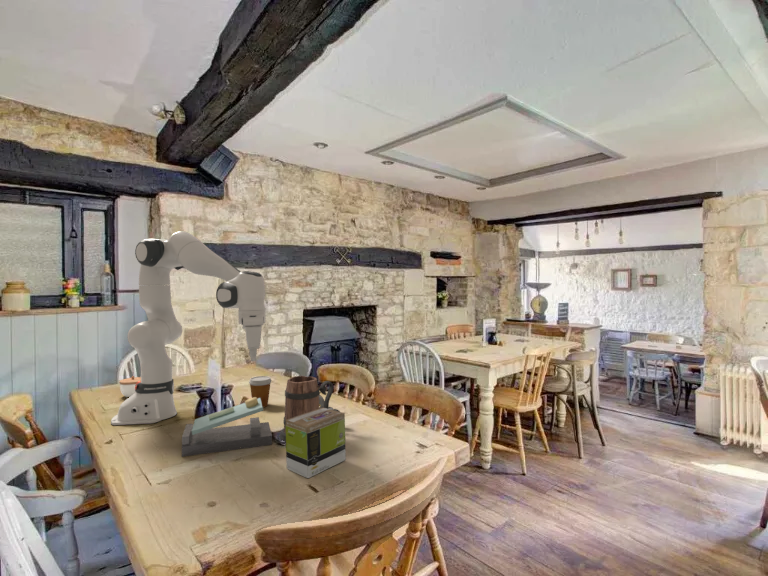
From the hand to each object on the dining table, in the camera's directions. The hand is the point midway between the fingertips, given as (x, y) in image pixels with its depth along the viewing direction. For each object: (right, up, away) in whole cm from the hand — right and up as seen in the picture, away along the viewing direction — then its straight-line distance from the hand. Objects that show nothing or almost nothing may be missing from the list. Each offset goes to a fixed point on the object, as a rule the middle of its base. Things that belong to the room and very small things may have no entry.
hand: (252, 358), depth 138 cm
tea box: (+25, -28, -20) cm, 43 cm away
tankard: (+19, -28, +6) cm, 34 cm away
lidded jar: (-75, -27, +53) cm, 96 cm away
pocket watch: (+20, -28, +30) cm, 45 cm away
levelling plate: (-7, -19, -3) cm, 21 cm away
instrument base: (-7, -28, -3) cm, 29 cm away
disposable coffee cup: (-9, -28, +38) cm, 48 cm away
